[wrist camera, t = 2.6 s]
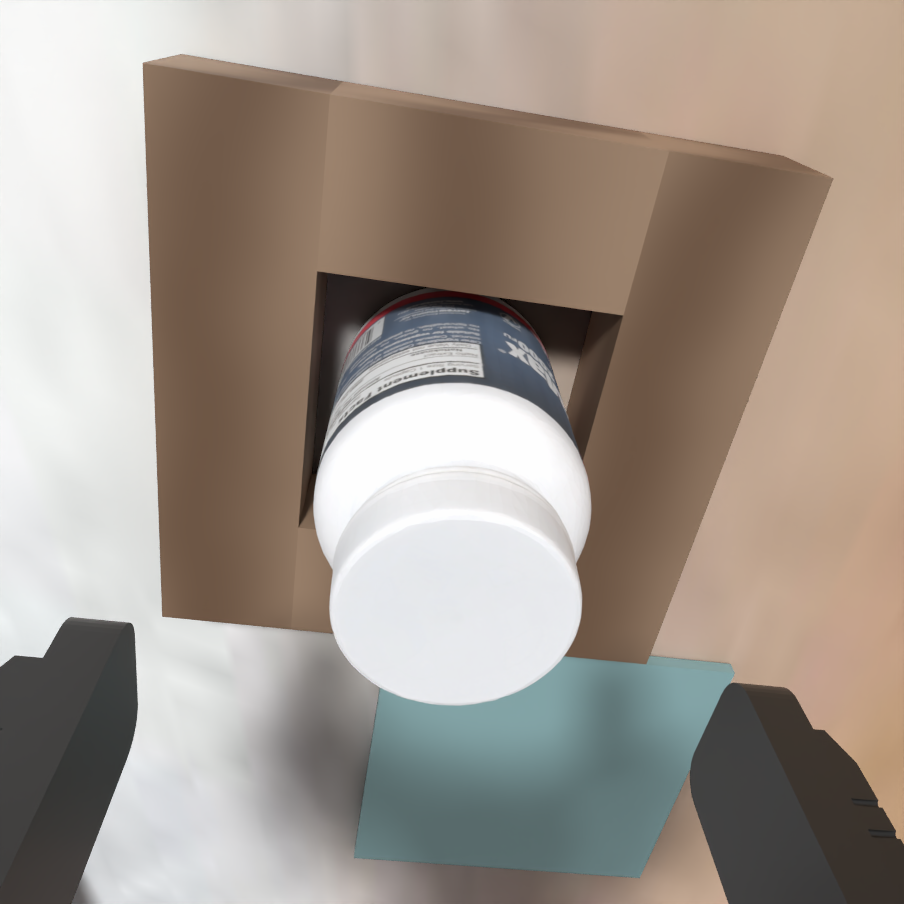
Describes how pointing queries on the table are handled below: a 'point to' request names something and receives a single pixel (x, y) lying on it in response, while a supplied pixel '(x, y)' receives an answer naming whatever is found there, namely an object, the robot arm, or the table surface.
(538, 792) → the teal pad
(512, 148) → the socket holder
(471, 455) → the pill bottle
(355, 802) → the table surface
